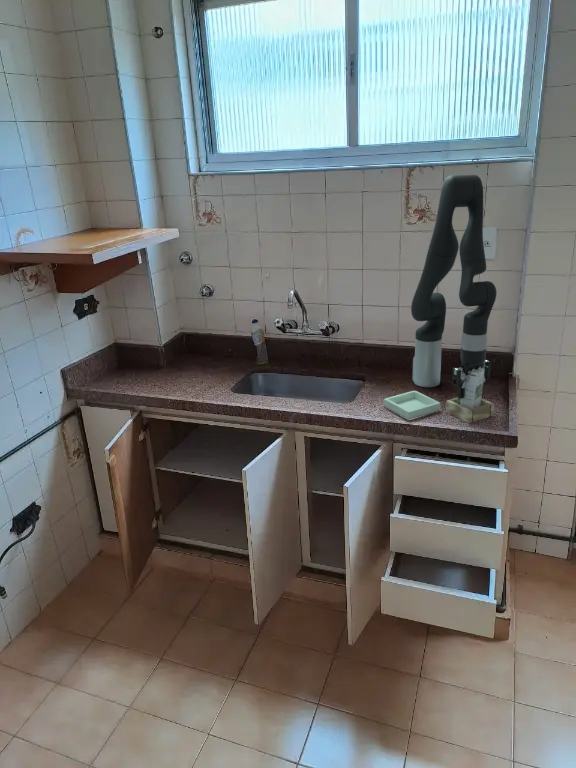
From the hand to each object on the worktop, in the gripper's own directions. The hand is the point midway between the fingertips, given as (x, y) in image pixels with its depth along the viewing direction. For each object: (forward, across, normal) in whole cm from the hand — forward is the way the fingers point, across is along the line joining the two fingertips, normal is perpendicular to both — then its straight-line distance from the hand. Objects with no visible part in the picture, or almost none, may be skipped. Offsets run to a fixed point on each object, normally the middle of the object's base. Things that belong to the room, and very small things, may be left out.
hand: (470, 395), depth 186 cm
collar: (+6, 0, 0) cm, 6 cm away
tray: (+7, +13, -13) cm, 19 cm away
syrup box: (+6, 0, 0) cm, 6 cm away
